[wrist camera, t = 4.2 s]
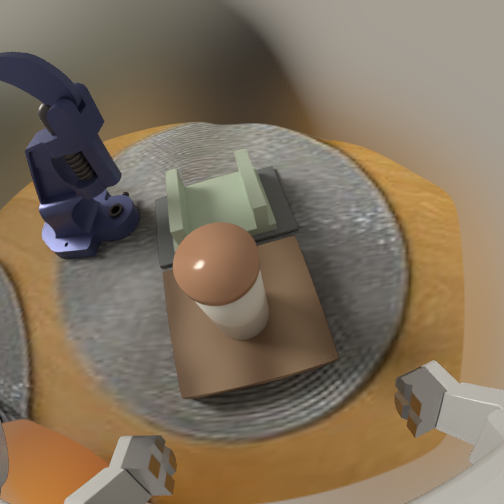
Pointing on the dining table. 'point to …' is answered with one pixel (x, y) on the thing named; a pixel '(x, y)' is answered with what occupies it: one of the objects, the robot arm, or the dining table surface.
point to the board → (261, 346)
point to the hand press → (70, 161)
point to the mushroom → (224, 278)
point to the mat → (284, 226)
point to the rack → (219, 201)
